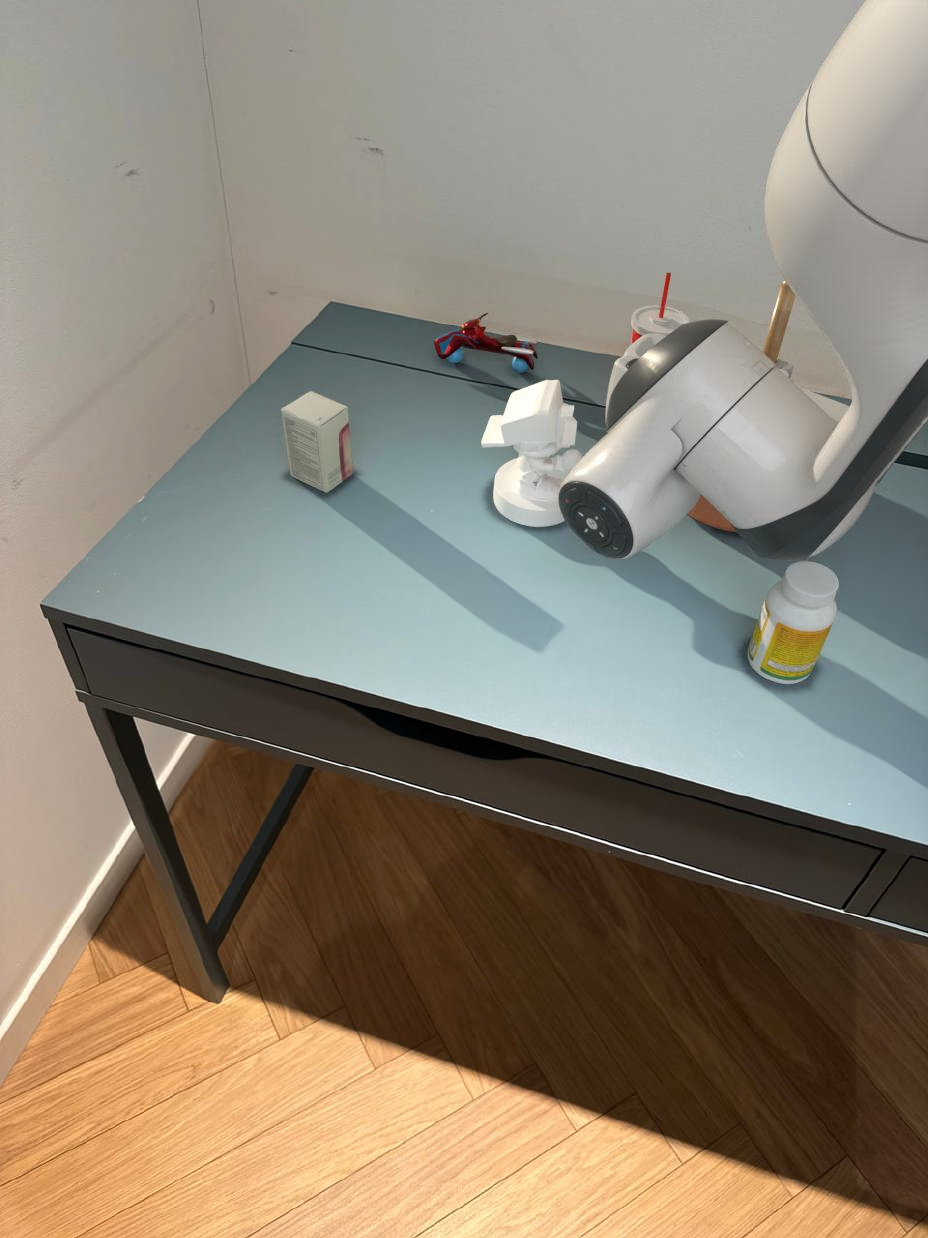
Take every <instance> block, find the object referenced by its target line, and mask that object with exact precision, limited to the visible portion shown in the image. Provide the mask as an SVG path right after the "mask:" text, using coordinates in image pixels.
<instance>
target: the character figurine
mask: <svg viewBox="0 0 928 1238" xmlns="http://www.w3.org/2000/svg"><path fill="white" fill-rule="evenodd" d="M574 411H575V404H568V403H566V402H564V399H563V393H562V387H561V382H560V380H559V379H545V380H542V381H540V382H537V383H534V384H531V385H529V386H525V387H522V388H521V389H517V390H514V391H513V392H512V393H511V394H510V396H509V398H508V401H507V403H506V407H505V409H504V413H503V414H495V415H491V416H490V417H489V419H488V422H487V425H486V427H485V430H484V433H483V436H482V437H481V441H480V442H481V443H480V444H481V448H502V447H513V449H514V451H516V452H517V453H518V455H517V456H518V457H517V458H516V457H515V458H513V459H511V460H509V461H506V462H504V464H502V466H501V467H499V468H498V470H497V471H496V473H495V475H494V481H493V493H492V494H493V495H492V496H493V503H494V506H495V508H496V509H497V511H498V512H499V514H501V515H502V516H503V517H505V518H506V519H507V520H509V521H511V522H513V523H516V524H519V525H523V526H527V527H534V528H545V527H551V526H552V527H553V526H555V525H558V524H562V523H563V522H565V520H564V518H563V516H562V514H561V511H560V508H559V503H558V492H559V489H560V486H561V484H562V483H563V481H564V480H565V478H566V477H567V476H568V474H569V473H570V472H571V471H572V469H573V468H574V467H575V466H576V464H577V463H578V462H579V461H580V460H581V459H582V458H583V457H584V456H583V455H582V453H581V451H580V450H578V449H575V448H570V447H571V446H575V444H576V437H577V428H578V421H577V420H576V418H575V417H574V416H573V415H574ZM561 449H567V450H565V451H564V453H563V454H562V455H561V454H556V453H558V452H559V451H560V450H561ZM555 454H556V455H555ZM551 456H553V457H551Z"/></svg>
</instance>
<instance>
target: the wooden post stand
mask: <svg viewBox="0 0 928 1238" xmlns="http://www.w3.org/2000/svg"><path fill="white" fill-rule="evenodd" d="M795 299H796V296H795V294H794V293H793V291H792V290H791V289H790V287H789V286H788V284H787V282H786V281H785V279H783V281H782V282H781V284H780V287H779V290H778V295H777V298H776V302H775V305H774V309H773V311H772V316H771V320H770V323H769V326H768V331H767V334H766V338H765V341H764V345H763V349H762V352H763V353H764V354H765V355H766V356H767V357H768V358H769V359H770V360H772V361H773V362H774V363H775V362H776V361H777V360H778V358H779V355H780V351H781V347H782V345H783V340H784V337H785V334H786V331H787V328H788V327H787V326H788V324H789V321H790V316H791V313H792V309H793V306H794V302H795Z"/></svg>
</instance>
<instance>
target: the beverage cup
mask: <svg viewBox="0 0 928 1238" xmlns="http://www.w3.org/2000/svg"><path fill="white" fill-rule="evenodd" d="M671 277H672V273H671V272H666V274H665V280H664V285H663V291H662V296H661V300H660V305H659V304H658V305H656V304H655V305H654V304H653V305H646V306H641V307H639V308H637V309H635V310H634V311H633V313H631V314H632V315H631V321H630V325H631V329H632V331H631V341H630V345H632V344H633V343H634V342H635V341H636V340H638V339H639V338H640V337H642V336H643V335H645V334H654V333H658V334H663V335H665V336H667V335H669V334H670V333H671V332H673V331H674V330H675V329H677V328H678V327H679V326H681V325H682V324H686V323H690V322H691V321H690V319H689V316H687V315H686V314H685V313H684V312H683V311H681V310H678V309H677V308H675V307H671V306H667V305H666V304H667V298H668V293H669V287H670V282H671Z"/></svg>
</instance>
